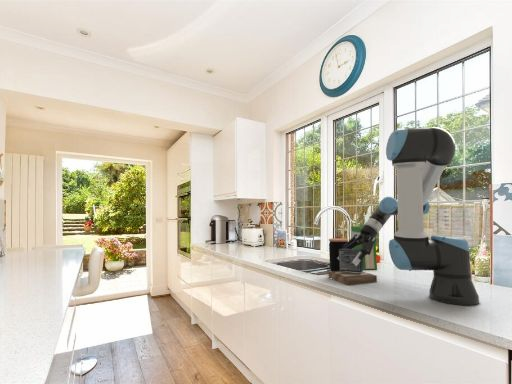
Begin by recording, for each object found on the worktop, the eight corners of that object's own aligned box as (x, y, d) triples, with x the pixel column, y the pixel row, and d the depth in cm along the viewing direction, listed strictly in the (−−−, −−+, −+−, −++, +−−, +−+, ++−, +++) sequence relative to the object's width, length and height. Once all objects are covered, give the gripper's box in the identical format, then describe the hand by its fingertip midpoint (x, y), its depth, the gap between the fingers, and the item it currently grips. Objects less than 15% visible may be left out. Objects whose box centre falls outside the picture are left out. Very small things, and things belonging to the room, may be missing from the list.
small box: (364, 270, 137) (363, 248, 137) (361, 273, 131) (360, 250, 132) (342, 268, 142) (341, 247, 143) (338, 271, 137) (338, 249, 138)
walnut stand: (376, 282, 131) (376, 275, 131) (347, 285, 126) (347, 278, 127) (355, 275, 146) (355, 268, 147) (328, 277, 142) (328, 271, 142)
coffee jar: (351, 273, 150) (349, 240, 151) (330, 273, 152) (329, 240, 154) (348, 269, 160) (347, 238, 162) (329, 269, 163) (328, 238, 164)
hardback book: (377, 270, 158) (375, 227, 160) (364, 270, 158) (362, 227, 160) (364, 264, 175) (362, 226, 177) (353, 264, 175) (351, 226, 177)
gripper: (393, 235, 131) (367, 271, 126) (360, 232, 154) (337, 263, 148) (383, 224, 130) (357, 260, 124) (351, 223, 153) (328, 253, 147)
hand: (346, 262), depth 136 cm, fingers closed on small box, 11 cm apart
